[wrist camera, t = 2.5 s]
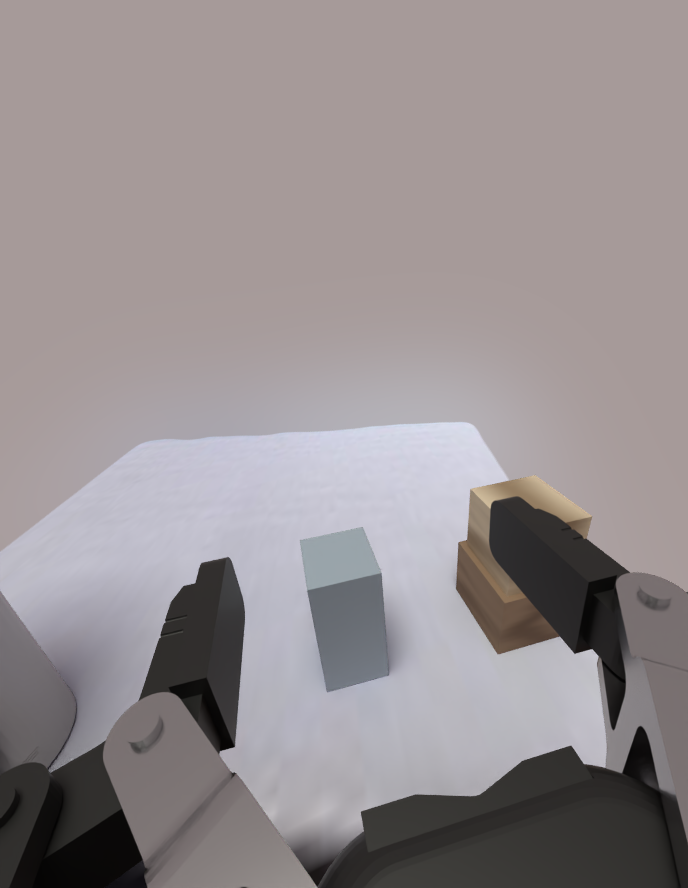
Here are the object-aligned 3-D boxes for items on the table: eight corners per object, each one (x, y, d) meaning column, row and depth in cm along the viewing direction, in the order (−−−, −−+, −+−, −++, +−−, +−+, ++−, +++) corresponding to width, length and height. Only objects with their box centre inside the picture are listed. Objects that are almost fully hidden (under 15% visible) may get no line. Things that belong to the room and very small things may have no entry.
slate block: (327, 692, 28) (307, 590, 23) (318, 635, 33) (299, 540, 28) (388, 675, 29) (381, 573, 24) (371, 622, 33) (362, 527, 29)
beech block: (507, 596, 28) (515, 534, 25) (466, 544, 33) (470, 489, 30) (576, 578, 28) (592, 516, 26) (526, 530, 34) (535, 475, 31)
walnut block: (497, 655, 30) (504, 603, 27) (456, 589, 36) (458, 542, 33) (573, 633, 31) (586, 581, 28) (519, 573, 37) (527, 526, 34)
